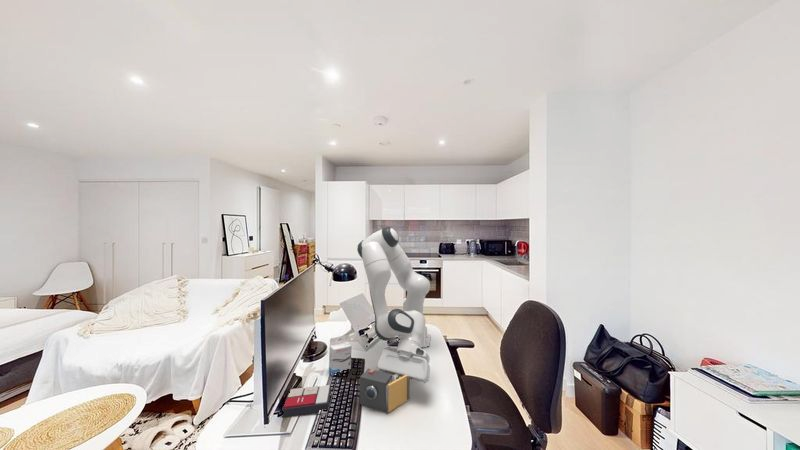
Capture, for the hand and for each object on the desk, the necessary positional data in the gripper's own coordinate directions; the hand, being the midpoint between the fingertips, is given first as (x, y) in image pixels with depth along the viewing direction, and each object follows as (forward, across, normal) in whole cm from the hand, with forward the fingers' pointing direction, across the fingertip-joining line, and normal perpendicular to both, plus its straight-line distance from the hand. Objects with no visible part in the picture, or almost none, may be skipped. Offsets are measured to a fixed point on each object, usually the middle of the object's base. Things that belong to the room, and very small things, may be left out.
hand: (397, 389), depth 97 cm
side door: (+5, +1, +1) cm, 5 cm away
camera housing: (+6, -7, +1) cm, 9 cm away
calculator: (+14, -28, -6) cm, 32 cm away
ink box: (-2, -31, +10) cm, 33 cm away
